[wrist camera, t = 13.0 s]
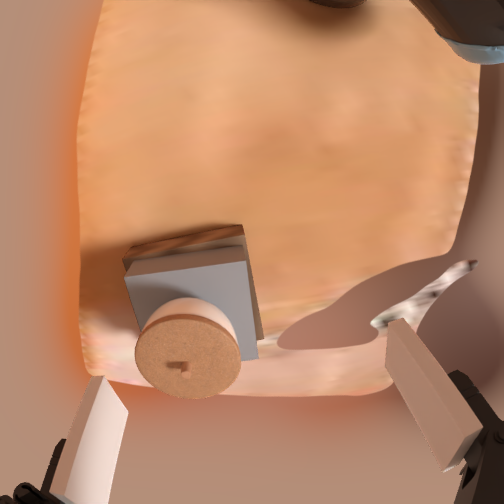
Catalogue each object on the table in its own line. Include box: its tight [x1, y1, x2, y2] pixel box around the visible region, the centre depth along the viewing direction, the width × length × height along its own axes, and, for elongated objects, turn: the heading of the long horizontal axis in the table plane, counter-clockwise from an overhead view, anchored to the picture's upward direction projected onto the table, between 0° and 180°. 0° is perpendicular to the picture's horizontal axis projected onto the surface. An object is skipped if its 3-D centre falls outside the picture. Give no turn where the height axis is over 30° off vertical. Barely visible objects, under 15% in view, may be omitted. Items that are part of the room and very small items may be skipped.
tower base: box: [122, 225, 264, 340], centre depth 43 cm, size 16×16×5 cm
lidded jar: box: [135, 297, 241, 399], centre depth 32 cm, size 11×11×9 cm
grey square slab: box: [124, 245, 259, 361], centre depth 39 cm, size 14×14×5 cm
